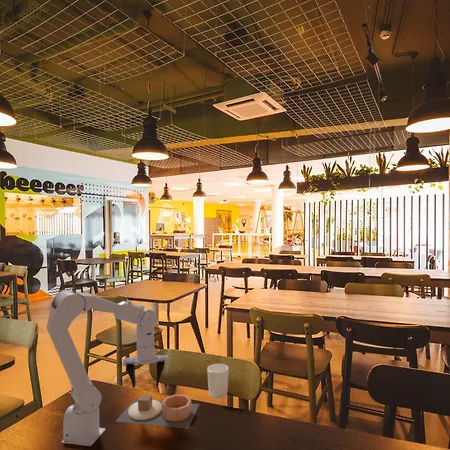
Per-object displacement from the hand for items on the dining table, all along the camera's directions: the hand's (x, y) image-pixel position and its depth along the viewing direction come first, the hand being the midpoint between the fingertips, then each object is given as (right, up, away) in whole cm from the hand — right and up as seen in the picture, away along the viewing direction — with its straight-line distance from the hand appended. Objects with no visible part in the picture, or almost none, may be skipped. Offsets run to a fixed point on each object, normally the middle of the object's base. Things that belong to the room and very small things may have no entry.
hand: (145, 385), depth 110 cm
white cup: (+24, -9, +12) cm, 28 cm away
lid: (0, -9, +1) cm, 9 cm away
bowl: (+10, -9, -1) cm, 14 cm away
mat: (+5, -9, 0) cm, 10 cm away
